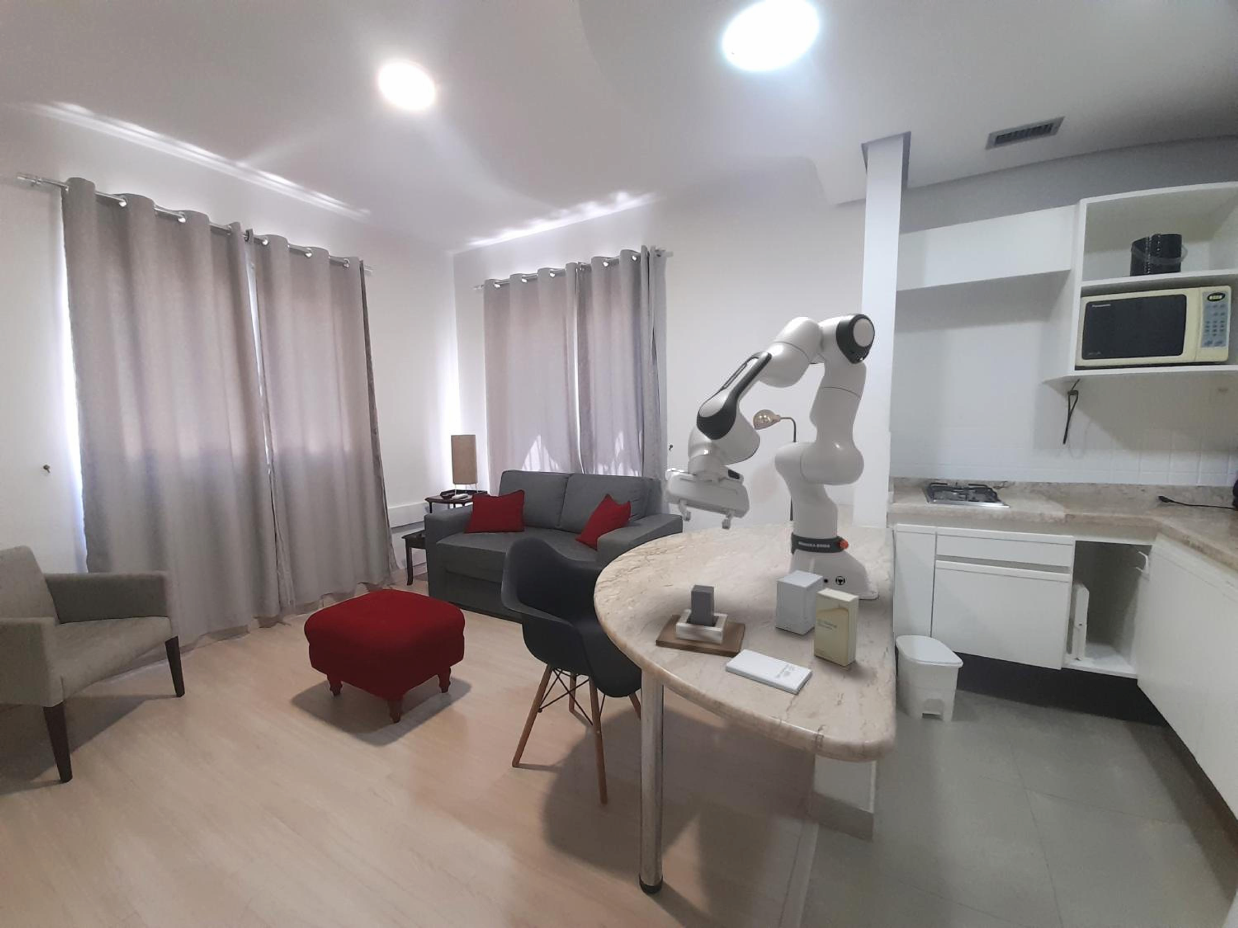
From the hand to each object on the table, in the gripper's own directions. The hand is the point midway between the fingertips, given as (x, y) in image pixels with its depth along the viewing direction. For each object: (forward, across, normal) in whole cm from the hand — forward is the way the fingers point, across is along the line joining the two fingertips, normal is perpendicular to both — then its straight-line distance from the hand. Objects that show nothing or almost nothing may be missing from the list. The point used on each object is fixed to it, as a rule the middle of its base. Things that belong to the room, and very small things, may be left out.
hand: (706, 523), depth 107 cm
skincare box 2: (+27, +23, -5) cm, 36 cm away
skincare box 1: (+17, +23, +6) cm, 30 cm away
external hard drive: (+33, +9, -5) cm, 34 cm away
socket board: (+23, +1, +7) cm, 24 cm away
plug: (+22, +1, +6) cm, 23 cm away
